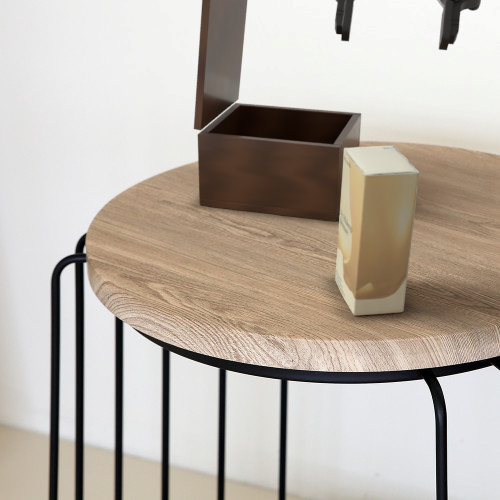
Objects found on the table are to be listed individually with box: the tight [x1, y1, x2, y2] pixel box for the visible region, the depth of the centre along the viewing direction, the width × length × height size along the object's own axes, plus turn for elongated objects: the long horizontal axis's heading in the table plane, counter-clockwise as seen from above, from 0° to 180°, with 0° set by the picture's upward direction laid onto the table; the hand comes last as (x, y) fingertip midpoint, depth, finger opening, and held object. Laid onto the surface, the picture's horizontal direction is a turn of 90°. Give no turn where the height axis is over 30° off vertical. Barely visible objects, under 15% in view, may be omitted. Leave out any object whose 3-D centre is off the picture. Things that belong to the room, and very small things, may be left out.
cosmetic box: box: [334, 144, 420, 317], centre depth 63 cm, size 6×4×12 cm
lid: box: [193, 0, 248, 131], centre depth 83 cm, size 15×13×5 cm
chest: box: [197, 102, 362, 222], centre depth 86 cm, size 15×13×8 cm
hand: (394, 41), depth 69 cm, fingers open, 8 cm apart
